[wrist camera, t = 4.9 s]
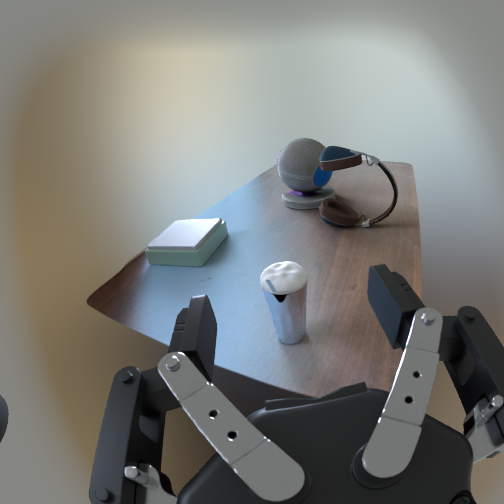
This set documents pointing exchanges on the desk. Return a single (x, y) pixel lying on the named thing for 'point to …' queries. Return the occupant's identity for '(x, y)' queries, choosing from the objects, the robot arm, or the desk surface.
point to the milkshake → (286, 299)
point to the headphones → (335, 209)
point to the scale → (187, 242)
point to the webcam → (304, 174)
